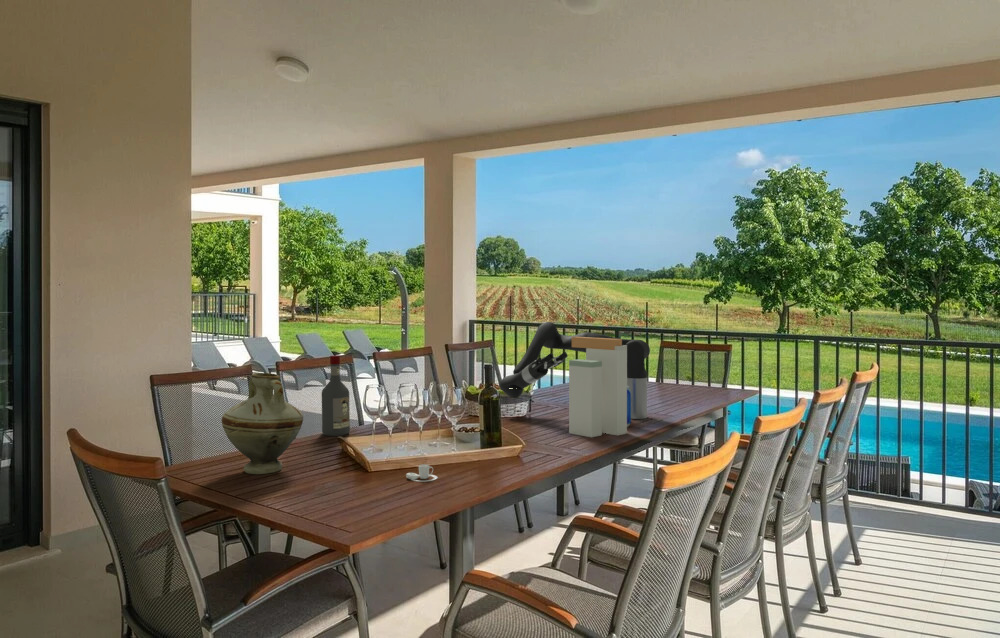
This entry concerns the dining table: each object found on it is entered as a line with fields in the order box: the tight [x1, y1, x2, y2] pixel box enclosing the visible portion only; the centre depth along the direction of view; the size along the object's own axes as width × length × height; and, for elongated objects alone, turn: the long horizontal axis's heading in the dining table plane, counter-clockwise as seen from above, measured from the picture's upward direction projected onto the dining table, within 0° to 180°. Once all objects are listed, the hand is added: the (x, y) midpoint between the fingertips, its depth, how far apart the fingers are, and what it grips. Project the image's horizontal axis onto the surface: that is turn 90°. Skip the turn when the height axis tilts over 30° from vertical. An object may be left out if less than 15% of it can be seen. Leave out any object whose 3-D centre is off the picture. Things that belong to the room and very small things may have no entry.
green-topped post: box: [568, 358, 603, 438], centre depth 274 cm, size 11×6×28 cm, turn 44°
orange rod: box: [572, 337, 623, 350], centre depth 281 cm, size 22×4×4 cm, turn 44°
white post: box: [585, 345, 628, 436], centre depth 278 cm, size 15×6×34 cm, turn 44°
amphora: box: [221, 372, 304, 475], centre depth 221 cm, size 24×24×30 cm
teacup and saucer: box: [405, 463, 439, 483], centre depth 211 cm, size 9×8×4 cm
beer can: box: [627, 386, 632, 428], centre depth 291 cm, size 8×8×16 cm
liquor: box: [321, 355, 351, 437], centre depth 277 cm, size 9×9×30 cm
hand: (559, 354), depth 295 cm, fingers open, 8 cm apart
